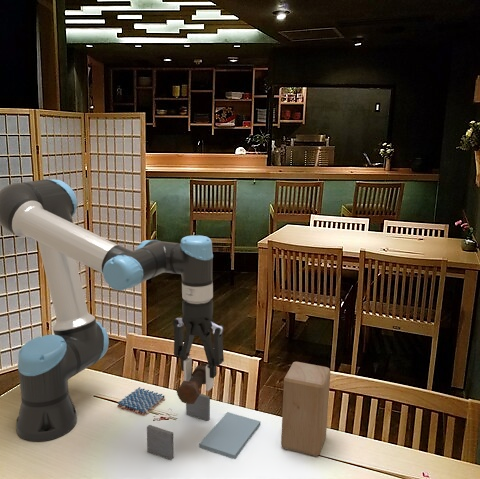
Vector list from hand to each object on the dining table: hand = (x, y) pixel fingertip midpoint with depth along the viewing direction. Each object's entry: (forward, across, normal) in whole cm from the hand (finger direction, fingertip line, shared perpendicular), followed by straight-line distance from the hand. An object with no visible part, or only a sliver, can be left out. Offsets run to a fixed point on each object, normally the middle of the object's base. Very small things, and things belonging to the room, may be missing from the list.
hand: (198, 385), depth 127 cm
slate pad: (+15, +7, +4) cm, 17 cm away
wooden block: (+15, +25, +10) cm, 31 cm away
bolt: (+1, 0, -1) cm, 1 cm away
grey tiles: (+14, -5, -2) cm, 15 cm away
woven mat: (+15, -23, +6) cm, 28 cm away
